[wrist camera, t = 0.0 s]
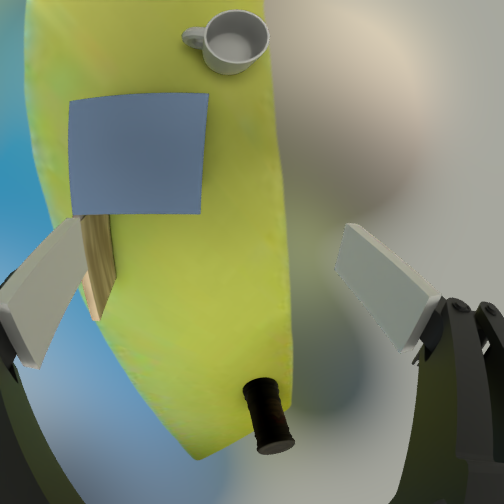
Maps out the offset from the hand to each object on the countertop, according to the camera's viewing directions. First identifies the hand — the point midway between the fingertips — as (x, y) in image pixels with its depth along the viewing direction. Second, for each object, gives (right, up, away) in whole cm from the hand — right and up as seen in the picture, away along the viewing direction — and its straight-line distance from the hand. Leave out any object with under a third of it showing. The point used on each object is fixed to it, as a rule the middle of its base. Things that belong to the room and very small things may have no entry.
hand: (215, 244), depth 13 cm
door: (-21, +2, +26) cm, 33 cm away
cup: (-3, +27, +18) cm, 33 cm away
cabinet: (-12, +15, +22) cm, 29 cm away
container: (+4, -34, +51) cm, 62 cm away
